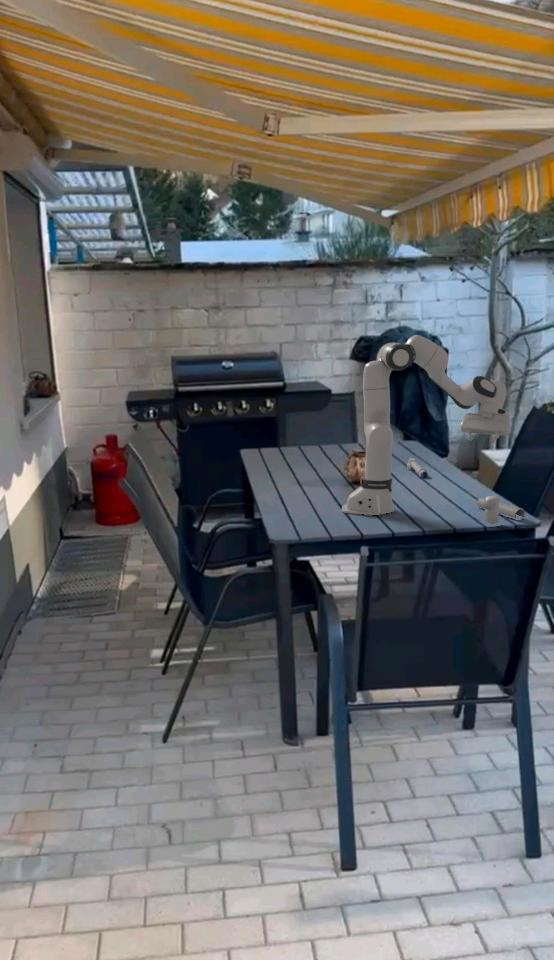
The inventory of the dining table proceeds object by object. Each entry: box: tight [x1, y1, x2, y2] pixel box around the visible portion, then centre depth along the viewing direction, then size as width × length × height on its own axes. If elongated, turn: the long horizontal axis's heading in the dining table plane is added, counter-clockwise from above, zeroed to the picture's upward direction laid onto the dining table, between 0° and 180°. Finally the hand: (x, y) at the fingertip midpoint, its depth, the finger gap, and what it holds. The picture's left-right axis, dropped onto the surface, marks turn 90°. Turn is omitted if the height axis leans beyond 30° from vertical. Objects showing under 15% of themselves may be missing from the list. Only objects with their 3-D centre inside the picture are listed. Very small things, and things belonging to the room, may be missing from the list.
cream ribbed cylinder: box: [406, 457, 429, 479], centre depth 408 cm, size 5×7×25 cm
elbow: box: [484, 495, 500, 524], centre depth 309 cm, size 8×6×11 cm
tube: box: [476, 497, 526, 518], centre depth 328 cm, size 5×5×25 cm
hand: (480, 441), depth 323 cm, fingers open, 8 cm apart
